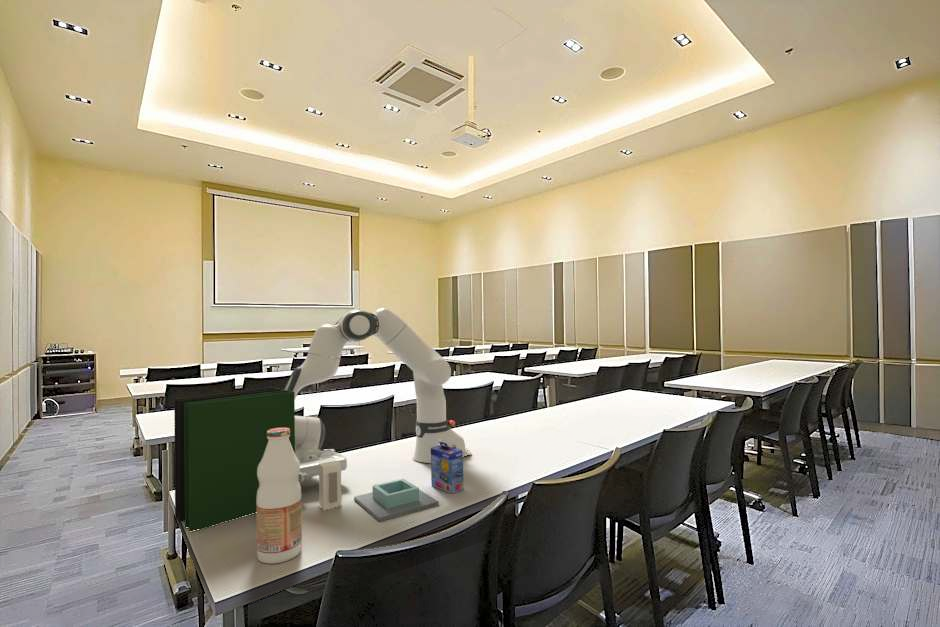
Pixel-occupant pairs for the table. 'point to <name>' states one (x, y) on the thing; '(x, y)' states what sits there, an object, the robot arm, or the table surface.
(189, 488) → the binder
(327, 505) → the keyed plug
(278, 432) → the fruit juice
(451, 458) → the ink cartridge box
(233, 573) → the table surface
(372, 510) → the socket dock
